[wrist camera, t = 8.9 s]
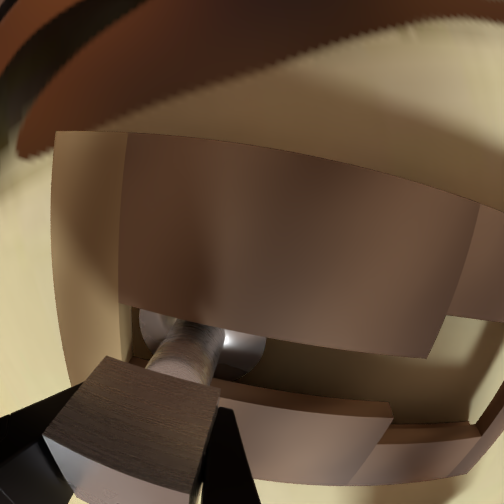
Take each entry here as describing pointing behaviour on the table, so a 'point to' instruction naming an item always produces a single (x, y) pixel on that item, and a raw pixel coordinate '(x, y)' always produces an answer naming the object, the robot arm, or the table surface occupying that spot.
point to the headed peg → (150, 415)
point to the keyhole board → (276, 284)
